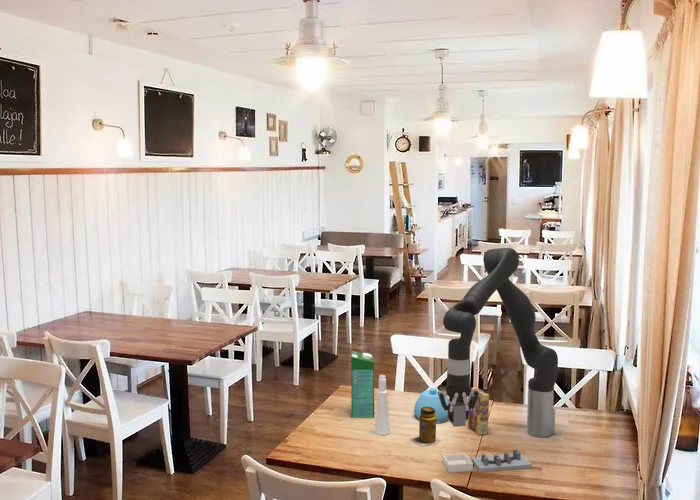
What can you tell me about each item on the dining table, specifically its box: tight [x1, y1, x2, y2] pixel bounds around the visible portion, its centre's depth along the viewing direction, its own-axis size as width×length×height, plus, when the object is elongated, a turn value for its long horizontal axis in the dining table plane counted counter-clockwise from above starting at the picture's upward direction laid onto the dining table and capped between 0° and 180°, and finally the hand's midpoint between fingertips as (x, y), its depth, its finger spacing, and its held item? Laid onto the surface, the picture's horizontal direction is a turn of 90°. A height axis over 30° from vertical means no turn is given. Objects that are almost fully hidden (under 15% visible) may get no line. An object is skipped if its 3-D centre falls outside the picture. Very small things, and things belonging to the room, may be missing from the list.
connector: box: [450, 401, 467, 427], centre depth 221 cm, size 4×4×8 cm
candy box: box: [466, 387, 490, 436], centre depth 252 cm, size 9×4×15 cm, turn 20°
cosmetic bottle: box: [374, 374, 391, 436], centre depth 251 cm, size 6×6×22 cm
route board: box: [471, 448, 532, 473], centre depth 224 cm, size 18×8×4 cm, turn 99°
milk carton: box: [350, 350, 375, 418], centre depth 269 cm, size 9×9×25 cm
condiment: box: [410, 407, 441, 447], centre depth 243 cm, size 7×8×12 cm
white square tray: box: [441, 452, 474, 474], centre depth 223 cm, size 8×8×3 cm
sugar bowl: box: [413, 387, 449, 424], centre depth 266 cm, size 15×15×12 cm
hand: (457, 420), depth 221 cm, fingers closed on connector, 4 cm apart
